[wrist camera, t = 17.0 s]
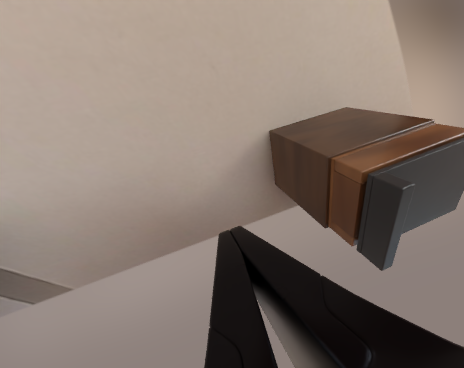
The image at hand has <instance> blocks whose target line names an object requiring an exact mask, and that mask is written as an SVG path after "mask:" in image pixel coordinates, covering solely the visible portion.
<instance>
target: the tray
mask: <svg viewBox="0 0 464 368" xmlns="http://www.w3.org/2000/svg"><path fill="white" fill-rule="evenodd" d="M461 138H464V128H460V127H453V126H447V125H441V124H436V123H430V124H427V125H425V126H422V127H419V128H416V129H413V130H410V131H407V132H405V133H402V134H399V135H396V136H393V137H390V138H388V139H385V140H382V141H379V142H376V143H373V144H370V145H368V146H365V147H362V148H359V149H356V150H353V151H351V152H348V153H345V154H342V155H339V156H336V157H333V158H331V178H330V199H329V220H328V227H330V228H331V229H332V230H333V231H335V232H336V233H337V234H338V235H339V236H341V237H342V238H343V239H344V240H345V241H346V242H347V243H349V244H350V245H351V246H354V245H357V244H358V238H359V231H360V224H361V218H362V211H363V205H364V198H365V191H366V185H367V178H368V174H370V173H372V172H375V171H377V170H380V169H383V168H385V167H388V166H391V165H393V164H396V163H398V162H401V161H404V160H406V159H409V158H412V157H414V156H417V155H419V154H422V153H425V152H427V151H430V150H433V149H435V148H438V147H440V146H443V145H446V144H448V143H451V142H454V141H456V140H459V139H461Z"/></svg>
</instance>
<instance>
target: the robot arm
mask: <svg viewBox="0 0 464 368" xmlns="http://www.w3.org/2000/svg"><path fill="white" fill-rule="evenodd" d="M256 298H257V299H256ZM257 300H258V302H259V304H260V306H261V307H262V309H263V311H264V313H265V314H266V316H267V318H268V320H269V322H270V324H271V325H272V327H273V329H274V331H275V333H276V334H277V336H278V338H279V340H280V341H281V343H282V345H283V347H284V349H285V351H286V352H287V354H288V356H289V358H290V359H291V361H292V363H293V365H294V367H295V368H464V347H462V346H460V345H457V344H455V343H453V342H450V341H448V340H446V339H444V338H442V337H440V336H438V335H435V334H434V333H431V332H430V331H427V330H425V329H423V328H421V327H419V326H417V325H415V324H413V323H411V322H409V321H407V320H405V319H403V318H401V317H399V316H397V315H395V314H393V313H391V312H389V311H387V310H385V309H383V308H380V307H378V306H377V305H374V304H373V303H371V302H369V301H367V300H365V299H363V298H361V297H359V296H357V295H355V294H353V293H352V292H350V291H348V290H346V289H344V288H343V287H341V286H339V285H338V284H336V283H334V282H332V281H331V280H329V279H327V278H326V277H324V276H320V274H319V273H317V272H316V271H314V270H312V269H311V268H309V267H307V266H306V265H304V264H302V263H301V262H299V261H297V260H296V259H294V258H293V257H291V256H289V255H287V254H286V253H284V252H283V251H281V250H279V249H278V248H276V247H274V246H273V245H271V244H269V243H268V242H266V241H264V240H263V239H261V238H259V237H258V236H256V235H254V234H253V233H251V232H249V231H248V230H246V229H244V228H243V227H241V226H238V227H235V228H232V229H231V230H230V231H229V230H227V231H224V232H222V233H220V234H219V238H218V247H217V257H216V267H215V277H214V286H213V296H212V306H211V315H210V328H209V333H208V343H207V351H206V358H205V367H204V368H278V366H277V363H276V360H275V357H274V353H273V350H272V347H271V344H270V341H269V338H268V334H267V331H266V328H265V325H264V321H263V318H262V315H261V312H260V309H259V305H258V302H257Z"/></svg>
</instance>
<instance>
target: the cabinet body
mask: <svg viewBox="0 0 464 368" xmlns="http://www.w3.org/2000/svg"><path fill="white" fill-rule="evenodd" d="M430 123H434V120H432V119H425V118H418V117H411V116H404V115H397V114H390V113H383V112H375V111H368V110H361V109H354V108H347V107H346V108H342V109H339V110H336V111H333V112H329V113H326V114H323V115H319V116H316V117H313V118H310V119H306V120H303V121H300V122H297V123H293V124H290V125H287V126H283V127H280V128H277V129H274V130H270V140H271V149H272V158H273V167H274V176H275V184H276V185H277V186H278V187H279V188H280V189H281V190H282V191H284V192H285V193H286V194H287V195H288V196H289V197H290V198H291V199H293V200H294V201H295V202H296V203H297V204H298V205H299V206H300V207H302V208H303V209H304V210H305V211H306V212H307V213H308V214H309V215H311V216H312V217H313V218H314V219H315V220H316V221H317V222H318V223H320V224H321V225H322V226H323V227H324V228H328V220H329V199H330V178H331V158H333V157H336V156H339V155H342V154H345V153H348V152H351V151H353V150H356V149H359V148H362V147H365V146H368V145H370V144H373V143H376V142H379V141H382V140H385V139H388V138H390V137H393V136H396V135H399V134H402V133H405V132H407V131H410V130H413V129H416V128H419V127H422V126H425V125H427V124H430Z"/></svg>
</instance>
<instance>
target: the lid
mask: <svg viewBox="0 0 464 368" xmlns="http://www.w3.org/2000/svg"><path fill="white" fill-rule="evenodd" d="M463 191H464V138H461V139H459V140H456V141H454V142H451V143H448V144H446V145H443V146H440V147H438V148H435V149H433V150H430V151H427V152H425V153H422V154H419V155H417V156H414V157H412V158H409V159H406V160H404V161H401V162H398V163H396V164H393V165H391V166H388V167H385V168H383V169H380V170H377V171H375V172H372V173H370V174H368V178H367V185H366V191H365V198H364V205H363V211H362V218H361V224H360V231H359V238H358V244H357V251H358V252H360V253H361V254H362V255H364V256H365V257H366V258H367V259H368V260H369V261H370V262H372V263H373V264H374V265H375V266H376V267H378V268H379V269H380V270H381V271H382V270H384V269H387V268H389V267H391V266H392V263H393V260H394V257H395V253H396V250H397V246H398V243H399V240H400V236H401V234H403V233H405V232H407V231H409V230H412V229H414V228H416V227H418V226H420V225H422V224H425V223H427V222H429V221H431V220H433V219H436V218H438V217H440V216H442V215H444V214H447V213H449V212H451V211H453V210H455V209H456V207H457V204H458V202H459V200H460V197H461V195H462V193H463Z"/></svg>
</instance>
